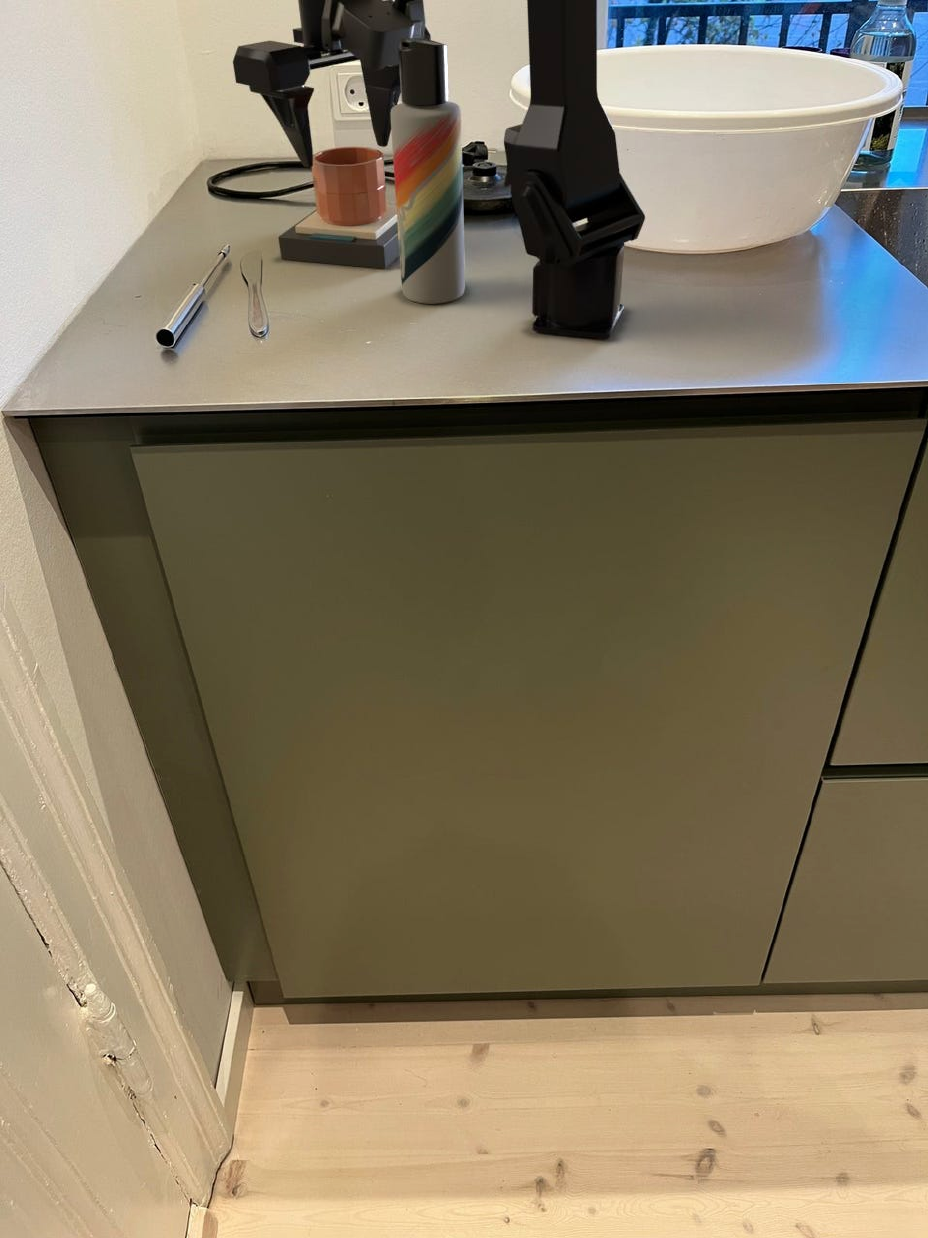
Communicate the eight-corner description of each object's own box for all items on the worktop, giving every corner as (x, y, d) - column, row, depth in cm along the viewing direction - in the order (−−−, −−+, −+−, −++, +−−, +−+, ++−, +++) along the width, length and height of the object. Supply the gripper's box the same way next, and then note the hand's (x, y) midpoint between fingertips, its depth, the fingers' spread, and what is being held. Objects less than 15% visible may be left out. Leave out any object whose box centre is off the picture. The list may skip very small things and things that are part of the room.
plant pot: (356, 200, 100) (351, 142, 96) (401, 214, 96) (397, 154, 92) (304, 216, 96) (296, 157, 93) (348, 231, 92) (342, 169, 89)
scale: (424, 231, 100) (423, 202, 99) (385, 269, 92) (382, 238, 91) (327, 223, 103) (324, 195, 101) (281, 259, 95) (276, 229, 93)
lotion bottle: (392, 288, 88) (373, 35, 76) (447, 276, 90) (439, 27, 78) (418, 309, 85) (404, 46, 72) (476, 296, 86) (472, 38, 74)
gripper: (298, -23, 73) (322, 195, 83) (471, -48, 83) (475, 149, 93) (214, -32, 79) (246, 171, 89) (385, -54, 89) (397, 131, 99)
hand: (346, 155), depth 93 cm, fingers open, 9 cm apart
